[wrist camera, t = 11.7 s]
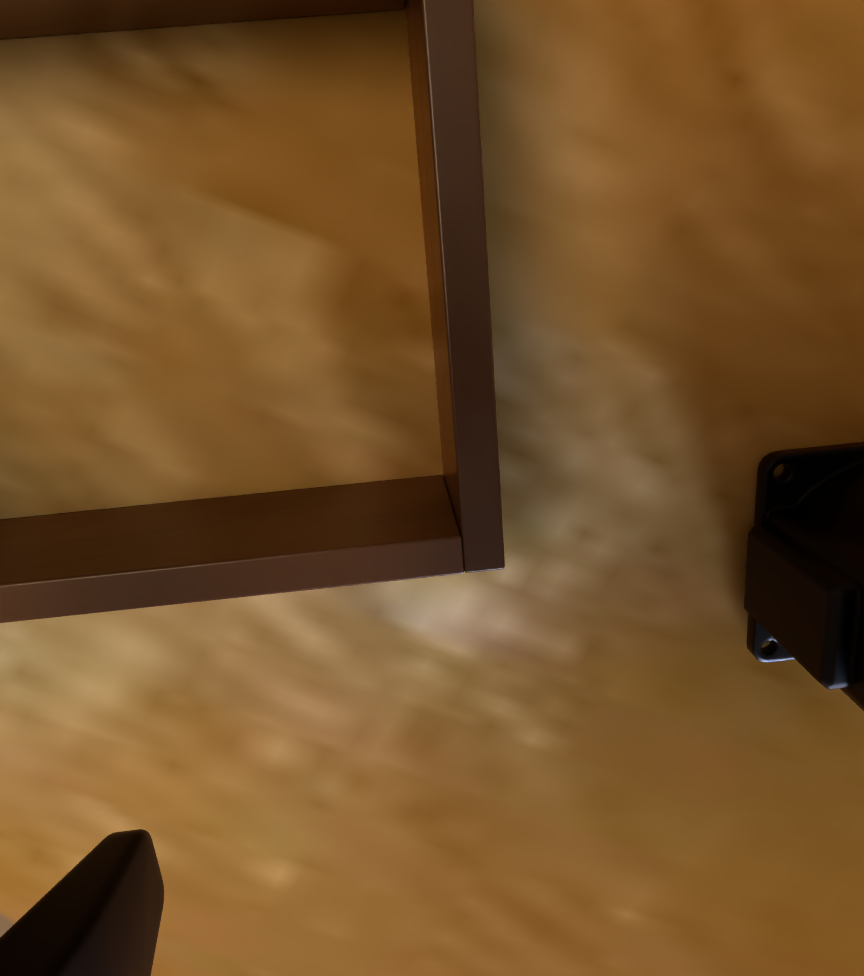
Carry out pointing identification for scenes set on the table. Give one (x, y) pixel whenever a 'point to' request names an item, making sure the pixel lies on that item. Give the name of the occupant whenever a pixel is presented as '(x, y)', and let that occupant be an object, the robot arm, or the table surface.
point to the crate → (325, 510)
